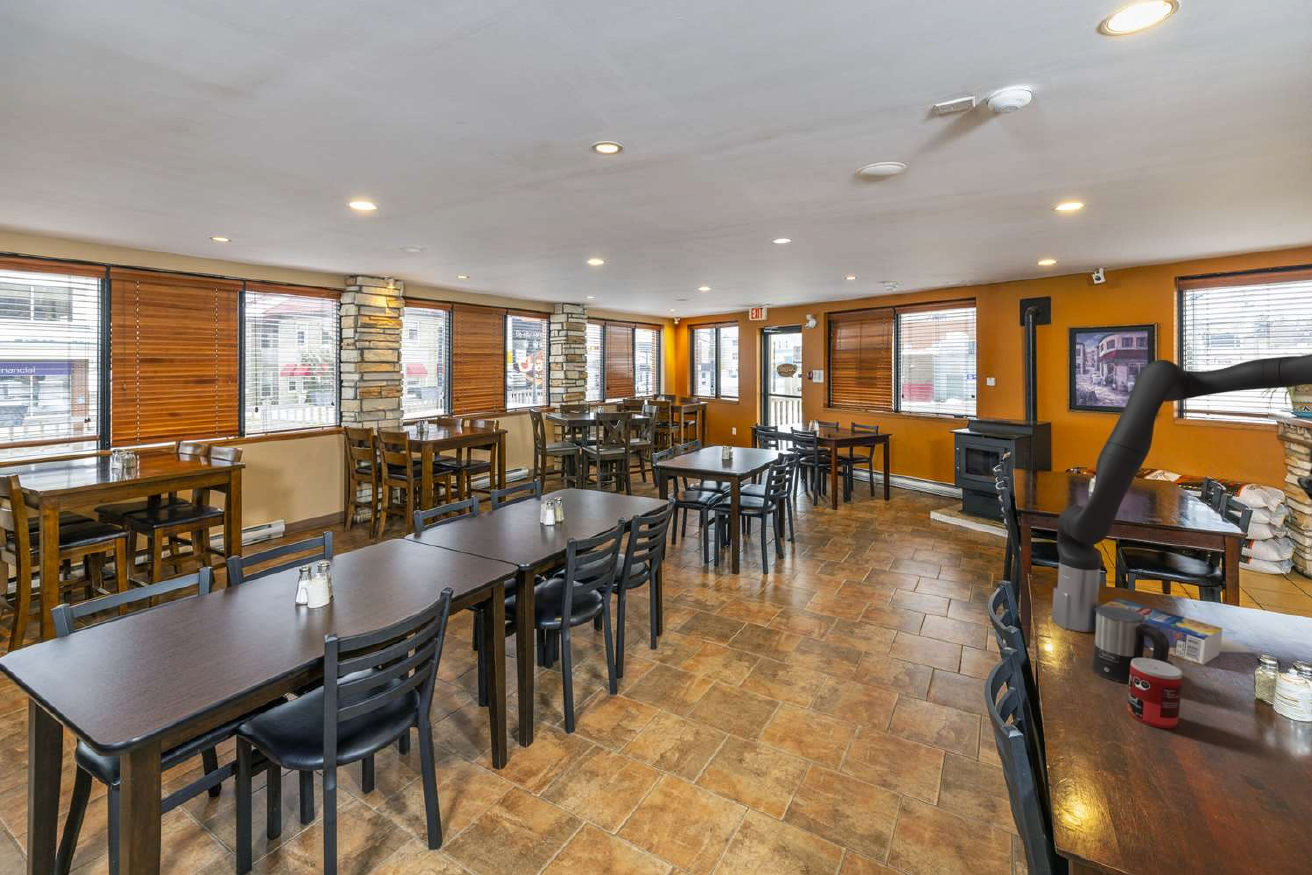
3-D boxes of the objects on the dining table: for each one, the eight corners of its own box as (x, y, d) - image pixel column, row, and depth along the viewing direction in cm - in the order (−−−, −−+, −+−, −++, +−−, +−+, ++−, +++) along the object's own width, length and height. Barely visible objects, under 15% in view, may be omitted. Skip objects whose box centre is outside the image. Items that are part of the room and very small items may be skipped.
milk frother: (1087, 673, 139) (1091, 612, 137) (1099, 651, 150) (1103, 594, 148) (1167, 697, 129) (1173, 631, 127) (1174, 671, 140) (1179, 610, 138)
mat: (1152, 650, 150) (1152, 649, 150) (1099, 618, 170) (1099, 617, 170) (1254, 653, 149) (1254, 651, 149) (1188, 620, 168) (1188, 619, 168)
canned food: (1125, 703, 126) (1129, 653, 125) (1174, 715, 121) (1179, 664, 120) (1128, 720, 120) (1132, 668, 118) (1180, 734, 115) (1185, 680, 114)
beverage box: (1222, 628, 147) (1118, 598, 166) (1205, 638, 142) (1099, 606, 160) (1219, 654, 148) (1115, 621, 167) (1202, 665, 142) (1096, 630, 161)
